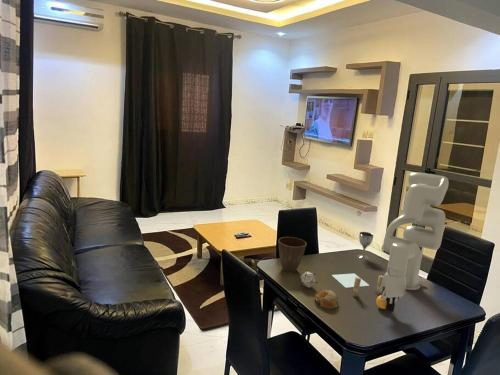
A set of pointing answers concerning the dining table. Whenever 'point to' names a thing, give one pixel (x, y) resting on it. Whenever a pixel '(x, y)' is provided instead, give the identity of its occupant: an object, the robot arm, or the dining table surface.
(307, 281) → the game die
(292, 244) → the plant pot
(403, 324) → the dining table surface
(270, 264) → the dining table surface
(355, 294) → the post
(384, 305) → the ball
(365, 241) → the wine glass
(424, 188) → the robot arm
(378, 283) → the post
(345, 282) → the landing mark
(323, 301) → the bread roll
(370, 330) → the dining table surface
